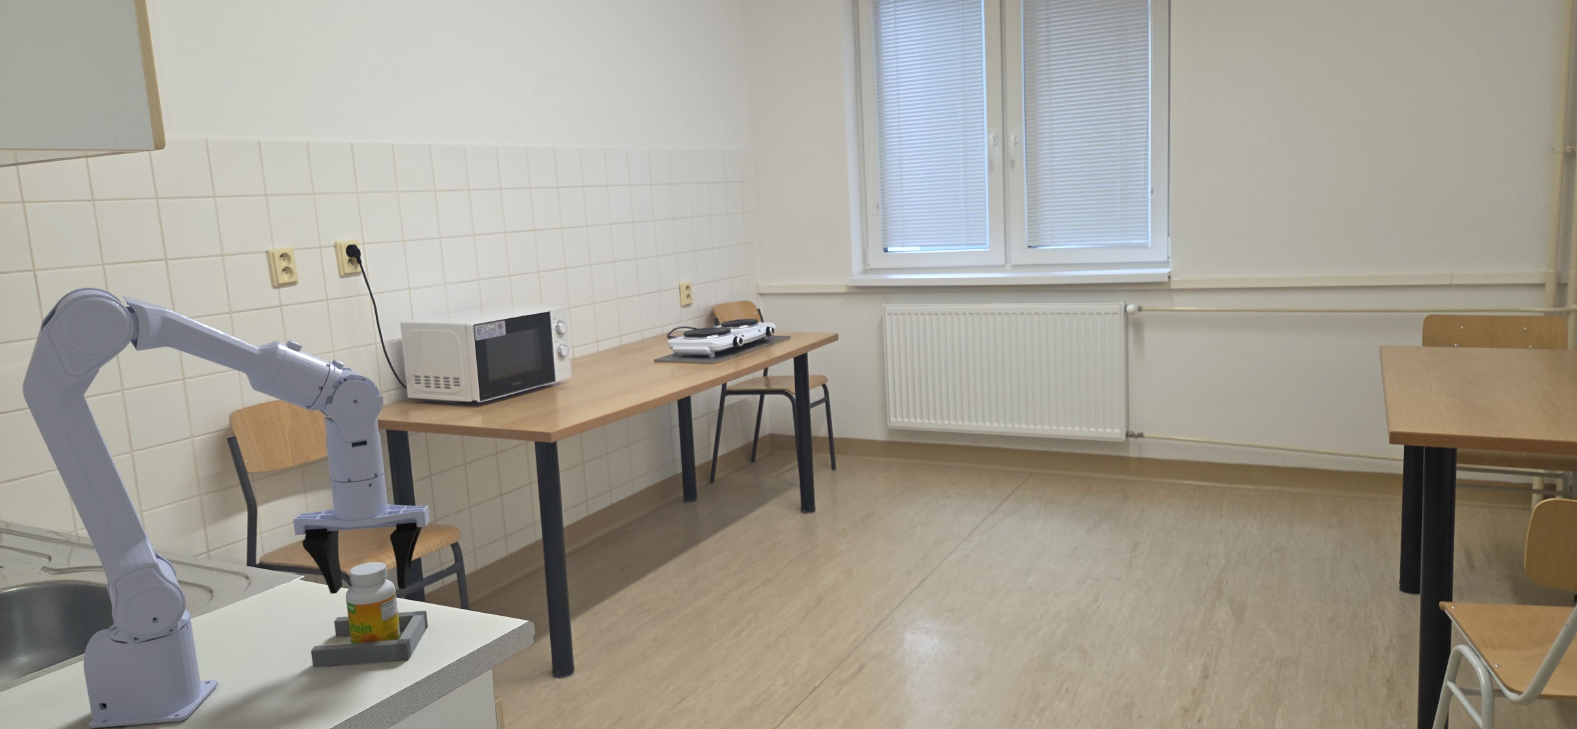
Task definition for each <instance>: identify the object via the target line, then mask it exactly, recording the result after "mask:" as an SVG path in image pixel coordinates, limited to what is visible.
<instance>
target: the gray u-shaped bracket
mask: <svg viewBox="0 0 1577 729" xmlns="http://www.w3.org/2000/svg"><path fill="white" fill-rule="evenodd" d="M427 615H428V613H427V610H416V611H405V612H398V617H399V626H400V633H401V634H400V636H401V637H400V638H399V640H387V641H374V642H361V643H351V642H349V643H337V644H325V645H314V646H313V648H312V649H311V650H310V655H311V661H312V662H311V663H312V667H313V668H321V667H332V666H334V667H335V666H347V665H360V664H371V663H385V662H398V661H399V662H400V661H409V660H410V659H411V656H412V654H413V653H414V651H415V649H416V648H417V646H418V644H419V643H420V640H421V639H422V637H423V635H424V634H425V632H426V630H427V628H428V627H429V625H428V623H429V622H428V616H427ZM333 625H334V631H335V637H336V638H339V637H341V638H342V637H343V638H344V637H351V636H350V627H349V620H348V616H338V617H336V618H335V619H334V621H333Z"/></svg>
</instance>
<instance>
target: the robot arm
mask: <svg viewBox="0 0 1577 729" xmlns="http://www.w3.org/2000/svg"><path fill="white" fill-rule="evenodd" d="M121 297H122V298H123V299H124V301H125V302H126V304H127V306H125V305H124V303H123V302H122V301H121V300H120V299H119V298H118V297H117V296H116V295H115V294H113V293H112V292H109V291H108V290H105V289H103V288H97V287H81V288H76V289H73V290H71V291H69V292H67V293H66V294H64V295H63V296H62V297H61V298H60V299H59V300H58V301H57V302H56V303H55V305H54V306H53V307H52V308H51V310H49V312H48V313H47V315H45V317H44V318H43V320H42V321H41V324H40V328H39V331H38V334H37V338H36V341H35V344H34V347H33V351H32V354H31V357H30V361H29V363H28V366H27V369H26V372H25V375H24V380H23V381H22V382H23V383H22V395H23V399H24V401H25V403H26V405H27V407H28V409H29V410H30V413H31V415H32V418H33V420H34V422H35V425H36V426H37V428H38V430H39V432H40V435H41V436H42V439H43V441H44V443H45V446H46V447H47V449H48V452H49V454H50V456H51V458H52V460H53V462H54V465H55V466H56V469H57V471H58V473H59V475H60V478H61V479H62V481H63V484H64V486H65V488H66V490H67V492H68V494H69V496H70V498H71V500H72V503H73V505H74V507H75V509H76V511H77V514H78V516H79V518H80V519H81V521H82V524H83V526H84V528H85V530H86V532H87V535H88V537H89V539H90V541H91V543H92V545H93V547H94V549H95V552H96V554H97V555H98V558H99V562H100V564H101V566H102V569H103V571H104V575H105V577H106V579H107V584H106V588H107V589H106V590H107V595H108V597H109V599H110V601H111V602H110V603H111V607H112V608H111V616H112V620H113V624H112V625H110V626H109V628H106V629H102V630H98V631H97V632H95V633H94V634H93V635H92V636H91V637H90V639H89V641H88V642H87V645H86V647H85V651H84V656H83V672H84V678H85V684H86V690H87V697H88V701H89V707H90V713H91V721H89V722H88V727H89V729H96V728H97V729H98V728H107V727H108V728H109V727H110V728H111V727H122V726H132V725H135V726H136V725H147V724H159V723H172V722H181V721H182V722H183V721H184V720H187V719H188V718H189V716H191V714H192V713H193V712H194V711H195V710H196V709H197V708H198V707H199V706H200V705H201V704H202V702H203V701H204V700H205V699H206V698H207V697H208V696H209V695H210V694H211V693H212V692H213V690H215V688H216V687H217V686H218V685H219V681H218V680H217V679H213V680H201V677H200V672H199V670H200V669H199V664H198V658H197V652H196V644H195V638H194V632H193V625H192V619H191V613H190V611H189V610H187V609H186V606H187V604H186V603H187V599H186V596H185V593H184V590H183V589H182V588H181V585H180V584H179V581H178V579H177V578H178V577H177V572H176V569H175V567H174V566H173V564H172V563H171V562H170V561H169V560H168V559H166V558H165V557H164V556H162V555H160V553H158V552H157V551H156V549H155V548H154V546H153V544H152V542H151V539H150V538H149V536H148V533H147V532H146V530H145V528H144V525H143V523H142V521H141V519H140V517H139V515H138V512H137V510H136V507H135V505H134V504H133V501H132V499H131V496H130V495H129V492H128V490H127V488H126V485H125V483H124V481H123V479H122V476H121V474H120V471H119V470H118V468H117V466H116V463H115V461H114V459H113V457H112V455H111V452H110V450H109V448H108V446H107V443H106V441H105V439H104V436H103V435H102V433H101V430H100V428H99V426H98V423H97V421H96V419H95V417H94V415H93V413H92V410H91V408H90V405H89V404H88V402H87V399H86V397H85V394H86V392H87V391H88V389H89V387H90V386H91V385H92V383H93V381H94V380H95V378H96V376H97V375H98V374H99V372H100V369H102V367H104V366H105V365H106V364H107V363H109V362H110V361H112V360H113V359H114V358H115V357H116V356H117V355H119V354H120V353H121V352H123V350H125V349H126V348H127V346H129V344H130V343H131V344H132V346H133V348H135V351H147V350H152V349H159V348H171V349H175V350H177V351H180V352H183V353H186V354H189V355H192V356H194V357H198V358H201V359H204V360H206V361H209V362H212V363H215V364H218V365H221V366H224V367H227V368H229V369H232V370H235V371H238V372H241V373H243V374H245V375H246V377H247V379H248V381H249V384H250V386H251V389H252V390H253V391H256V392H259V393H262V394H263V395H264V394H265V395H267V396H269V397H272V398H274V399H278V400H280V401H283V402H286V403H288V404H292V405H293V406H297V407H300V408H302V409H305V410H307V411H311V412H313V411H319V412H320V413H321V414H322V415H324V416H325V417H324V425H325V426H324V427H325V434H326V437H325V447H326V454H327V462H328V470H329V480H330V486H331V487H330V488H331V496H332V503H333V504H332V506H333V508H332V509H327V510H322V511H320V510H319V511H315V512H307V513H298V514H297V515H296V516H295V517H294V518H293V528H294V535H295V536H300V535H305V536H304V539H303V540H302V542H301V543H302V546H303V549H304V550H305V551H306V552H307V553H308V554H309V555H310V557H311V558H312V560H314V562H315V563H316V565H317V568H318V569H319V570H320V572H321V574H322V575H323V579H324V581H325V582H326V585H327V588H328V591H329V594H330V595H331V594H337V593H339V591H340V589H341V588H342V587H343V578H342V577H343V576H342V570H341V564H340V556H339V555H340V554H339V532H340V531H350V530H351V531H352V530H367V529H380V528H382V529H383V528H395V529H394V530H393V532H391V533H390V535H389V538H390V542H391V546H392V551H393V554H394V560H395V564H396V565H395V566H396V567H395V568H396V580H397V588H398V590H404V589H406V588H407V586H408V585H409V583H410V577H411V576H410V575H411V566H412V560H413V556H414V553H415V548H416V544H417V543H418V539H419V536H420V534H421V531H422V529H423V527H424V528H426V527H427V525H429V523H430V521H431V518H430V508H429V505H402V504H401V505H400V504H388V503H389V502H388V496H387V495H388V494H387V486H386V475H385V468H384V458H383V449H382V439H381V433H380V431H379V420H378V417H379V415H380V413H381V411H382V409H383V404H384V397H383V396H381V393H380V390H379V387H378V386H377V385H376V384H375V383H374V382H373V381H372V380H371V379H370V378H368V377H366V376H365V375H362V374H361V373H358V372H356V371H354V370H352V369H351V367H346V366H345V364H344V363H343V362H341V361H340V360H336V359H333V360H332V362H331V361H328V360H325V359H323V358H321V357H319V356H316V355H313V354H311V353H308V352H306V351H303V350H302V348H303V345H302V344H300V343H298V342H296V341H293V340H291V339H289V340H287V342H286V343H284V342H281V341H279V340H274V341H271V342H268V343H266V344H263V345H254V344H252V343H250V342H248V341H245V340H243V339H241V338H237V337H236V336H233V335H231V334H228V333H226V332H224V331H221V330H219V329H218V328H215V327H212V326H211V325H207V324H206V323H203V322H201V321H198V320H196V319H193V318H191V317H189V316H186V315H184V314H182V313H180V312H177V311H174V310H172V309H171V308H167V307H165V306H161V305H158V304H154V303H151V302H148V301H147V302H146V301H143V300H140V299H137V298H132V297H127V296H124V295H123V296H121Z"/></svg>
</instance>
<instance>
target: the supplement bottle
mask: <svg viewBox="0 0 1577 729" xmlns="http://www.w3.org/2000/svg"><path fill="white" fill-rule="evenodd" d="M348 574H349V581H350V584H351V586H350V587H349V588H348V589H347V591H346V594H345V600H346V602H345V604H346V609H347V611H346V612H347V617H348V620H349V627H350V636H349V637H350V643H361V642H374V641H387V640H399V638H400V637H401V632H400V626H399V617H398V613H399V609H398V602H397V601H398V600H397V594H396V587H395V584H394V583H393V582H392V581H391V580H389V579H387V578H388V569H387V565H386V563H384V562H379V561H371V562H365V563H361V564H357V565H355V566H353V567H352V568H351V569H350V570H349V573H348Z"/></svg>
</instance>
